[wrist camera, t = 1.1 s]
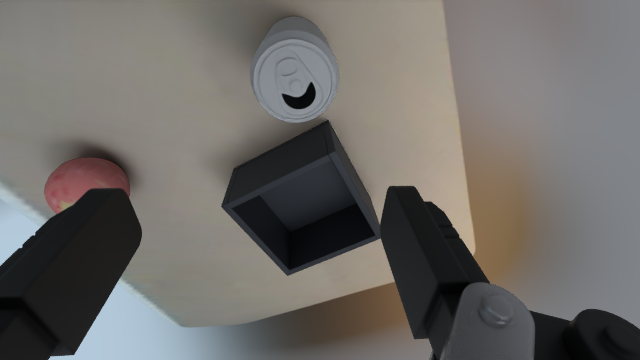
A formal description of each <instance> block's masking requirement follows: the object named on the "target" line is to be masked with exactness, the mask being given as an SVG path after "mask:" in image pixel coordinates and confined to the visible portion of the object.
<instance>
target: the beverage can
mask: <svg viewBox="0 0 640 360" xmlns="http://www.w3.org/2000/svg"><path fill="white" fill-rule="evenodd" d="M250 79H251V85H252V89H253V91H254V94H255V96H256V98H257V99H258V101H259V102H260V104H261V105H262V106H263V107H264V109H265V110H266V111H267V112H269V113H270V114H271V115H272V116H274V117H276V118H278V119H280V120H282V121H286V122H293V123H300V122H306V121H309V120H312V119H314V118H316V117H317V116H319V115H320V114H321V113H323V112H324V111H325V110H326V108H327V107H328V106H329V105H330V103H331V102H332V100H333V99H334V97H335V95H336V92H337V89H338V84H339V70H338V65H337V62H336V59H335V57H334V55H333V53H332V51H331V49H330V47H329V45H328V43H327V42H326V40H325V38H324V36H323V34H322V32H321V31H320V30H319V28H318V27H317V26H316V25H315V24H313V23H312V22H311V21H309V20H307V19H304V18H301V17H287V18H284V19H282V20H280V21H278V22H277V23H275V24H274V25H273V26H272V27H271V28H270V30H269V31H268V33H267V35H266V36H265V38H264V39H263V41H262V43H261V44H260V46H259V48H258V49H257V51H256V53H255V55H254V57H253V60H252V63H251V69H250Z"/></svg>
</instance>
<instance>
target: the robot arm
mask: <svg viewBox="0 0 640 360" xmlns="http://www.w3.org/2000/svg"><path fill="white" fill-rule="evenodd" d="M380 234H381V240H382V243H383V246H384V249H385V252H386V255H387V258H388V261H389V264H390V267H391V270H392V273H393V276H394V279H395V282H396V285H397V289H398V291H399V295H400V297H401V301H402V303H403V307H404V309H405V313H406V316H407V319H408V321H409V325H410V328H411V331H412V334H413V337H414V339H426V338H429V341H430V344H431V346H432V349H433V351H432V353H431V355H430V359H429V360H640V329H639V328H637V327H636V326H634V325H633V324H631V323H630V322H628V321H627V320H625V319H623V318H621V317H619V316H617V315H614V314H612V313H609V312H606V311H602V310H598V309H587V310H584V311H582V312H580V313H579V314H578V315H577V316H576V317H575V318H574V319H573V320H572V321H568V320H565V319H561V318H557V317H553V316H549V315H545V314H541V313H537V312H533V311H530V310H528V309H527V307H526V306H525V305H524V304H523V303H522V302H521V301H520V300H519V299H518V298H517V297H516V296H514V295H513V294H512V293H510V292H509V291H507V290H505V289H503V288H501V287H499V286H496V285H493V284H490V282H489V281H488V279H487V278H486V276H485V275H484V273H483V271H482V270H481V268H480V267H479V266H478V264H477V262H476V261H475V259H474V258H473V256H472V254H471V253H470V251H469V250H468V248H467V247H466V245H465V244H464V242H463V241H462V239H460V238H459V234H458V233H457V231H456V230H455V228H453V227H452V224H451V222H450V220H449V219H448V217H447V216H446V214H445V213H444V212H443V211H442V210H441V209H440V208H438V207H437V206H436V205H435V204H433V203H432V202H424V201H423V199H422V197H421V196H420V194H419V192H418V191H417V189H416V188H415V187H414V186H390V187H389V188H388V190H387V194H386V199H385V204H384V208H383V213H382V218H381V224H380ZM141 238H142V229H141V225H140V223H139V221H138V218H137V216H136V213H135V211H134V209H133V206H132V204H131V202H130V199H129V197H128V195H127V193H126V191H125V190H124V189H122V188H92V189H89V190H88V191H87V192H86V193H85V194H84V195H83V196H82V197H81V198H79V199H78V200H77V201H76V202H75V203H74V204H73V205H72V206H70V207H68V208H66V209H65V210H63V211H61V212H60V213H58V214H56V215H55V216H53V217H51V218H50V219H49V220H48V221H47V222H46V223H45V224H44V225H43V226H42V227H41V228H40V229H39V230H38V231H36V234H35V236H31V237H30V238H29V239H28V240H27V241H26V242H25V243H24V244H23V247H22V248H19V249H18V250H17V251H15V253H13V254H12V255H11V256H10V257H9V258H8V259H7V260H6V261H5V262H4V263H3V264H2V265H1V266H0V360H48V359H49V358H50V356H65V355H74V354H75V352H76V351H77V349H78V347H79V346H80V344H81V342H82V341H83V339H84V337H85V336H86V334H87V332H88V331H89V329H90V327H91V326H92V324H93V322H94V321H95V319H96V317H97V316H98V314H99V312H100V311H101V309H102V307H103V306H104V304H105V302H106V301H107V299H108V297H109V295H110V294H111V292H112V290H113V289H114V287H115V285H116V284H117V282H118V280H119V279H120V277H121V275H122V274H123V272H124V270H125V269H126V267H127V265H128V264H129V262H130V260H131V259H132V257H133V255H134V254H135V252H136V250H137V249H138V247H139V245H140V242H141Z"/></svg>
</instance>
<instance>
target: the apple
mask: <svg viewBox="0 0 640 360" xmlns="http://www.w3.org/2000/svg"><path fill="white" fill-rule="evenodd" d="M92 188H122V189H124V190H125V191H126V193H127V195H128V197H129V196H130V184H129V181H128V179H127V176H126V175H125V173H124V172H123V170H122V169H121V168H120V167H119V166H117V165H116V164H114V163H112V162H110V161H108V160H105V159H100V158H77V159H73V160H70V161H67V162H65V163H63V164H61V165H60V166H59V167H58V168H57V169H56V170H55V171H54V172H53V173H52V174H51V175H50V176H49V178H48V180H47V182H46V184H45V190H44V194H45V198H46V201H47V203H48V205H49V206H50V207H51V209H52V210H53V211H54V212H55V213H56V214H58V213H60V212H61V211H63V210H65V209H66V208H68V207H70V206H72V205H73V204H74V203H75V202H76V201H77V200H78V199H79V198H81V197H82V196H83V195H84V194H85V193H86V192H87V191H88V190H89V189H92Z"/></svg>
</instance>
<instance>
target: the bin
mask: <svg viewBox="0 0 640 360" xmlns="http://www.w3.org/2000/svg"><path fill="white" fill-rule="evenodd" d="M221 207H222V208H223V209H224V210H225V211H226V212H227V213H228V214H229V215H230V216H231V217H232V218H233V220H234V221H235V222H236V223H237V224H238V225H239V226H240V227H241V228H242V229H243V230H244V231H245V232H246V233H247V234H248V235H249V236H250V237H251V238H252V239H253V240H254V241H255V243H256V244H257V245H258V246H259V247H260V248H261V249H262V250H263V251H264V252H265V253H266V254H267V255H268V256H269V257H270V258H271V259H272V260H273V261H274V262H275V263H276V264H277V265H278V267H279V268H280V269H281V270H282V271H283V272H284V273H285V274H286V275H287V276H288V275H291V274H293V273H296V272H298V271H301V270H303V269H306V268H308V267H311V266H313V265H316V264H318V263H321V262H323V261H326V260H328V259H331V258H333V257H336V256H338V255H341V254H343V253H346V252H348V251H351V250H353V249H356V248H358V247H361V246H363V245H365V244H368V243H370V242H373V241H375V240H378V239H380V238H381V234H380V224H379V221H378V218H377V215H376V213H375V210H374V207H373V204H372V201H371V198H370V196H369V195H368V193H367V191H366V189H365V187H364V185H363V183H362V182H361V180H360V178H359V176H358V174H357V172H356V170H355V169H354V167H353V165H352V163H351V161H350V159H349V157H348V156H347V154H346V152H345V150H344V148H343V146H342V144H341V143H340V141H339V139H338V137H337V135H336V133H335V131H334V130H333V128H332V126H331V124H330V122H329V120H328V121H326V122H324V123H322V124H320V125H318V126H316V127H314V128H312V129H310V130H308V131H307V132H305V133H303V134H301V135H299V136H297V137H295V138H293V139H291V140H289V141H287V142H285V143H283V144H281V145H279V146H277V147H275V148H273V149H272V150H270V151H268V152H266V153H264V154H262V155H260V156H258V157H256V158H254V159H252V160H250V161H248V162H246V163H244V164H242V165H240V166H238V167H237V168H235V169H234V170H233V173H232V176H231V179H230V182H229V185H228V188H227V191H226V194H225V197H224V200H223V203H222V206H221Z"/></svg>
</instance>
